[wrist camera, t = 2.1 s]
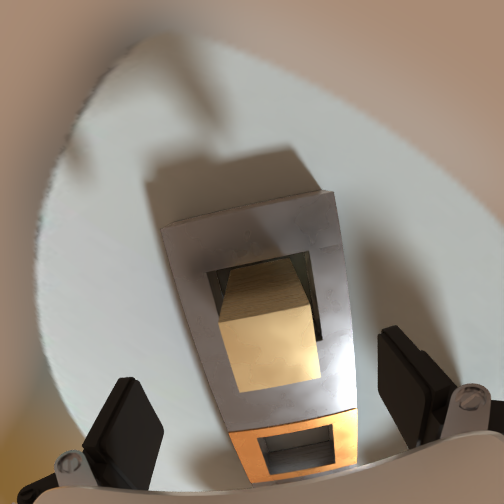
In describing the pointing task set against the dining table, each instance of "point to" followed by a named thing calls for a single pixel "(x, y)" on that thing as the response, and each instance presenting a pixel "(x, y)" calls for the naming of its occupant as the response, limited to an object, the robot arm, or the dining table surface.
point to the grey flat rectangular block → (325, 325)
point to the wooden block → (268, 327)
